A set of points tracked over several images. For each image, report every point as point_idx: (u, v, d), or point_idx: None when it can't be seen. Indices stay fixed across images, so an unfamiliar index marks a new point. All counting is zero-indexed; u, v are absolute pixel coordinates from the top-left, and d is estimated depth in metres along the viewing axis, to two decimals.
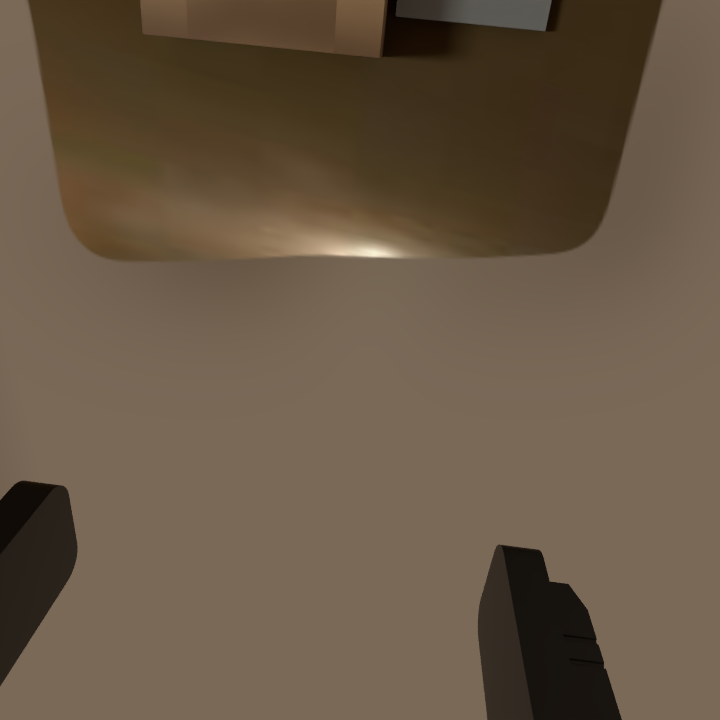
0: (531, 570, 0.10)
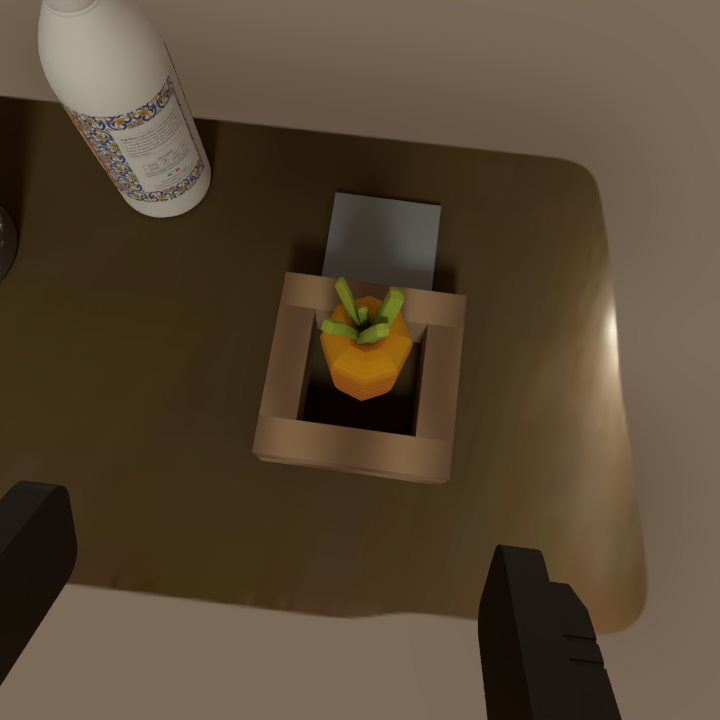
0: (531, 570, 0.10)
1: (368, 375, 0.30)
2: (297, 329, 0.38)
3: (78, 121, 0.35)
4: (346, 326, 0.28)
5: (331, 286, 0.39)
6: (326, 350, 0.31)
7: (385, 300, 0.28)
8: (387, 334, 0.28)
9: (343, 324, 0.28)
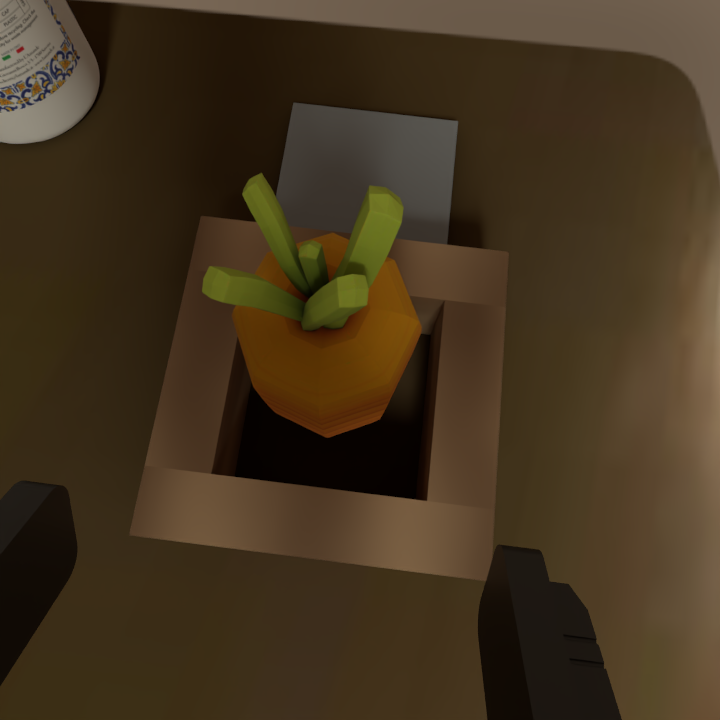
0: (531, 570, 0.10)
1: (328, 397, 0.14)
2: (217, 313, 0.22)
3: None
4: (267, 285, 0.12)
5: None
6: (242, 345, 0.15)
7: (358, 220, 0.12)
8: (364, 302, 0.12)
9: (258, 280, 0.12)
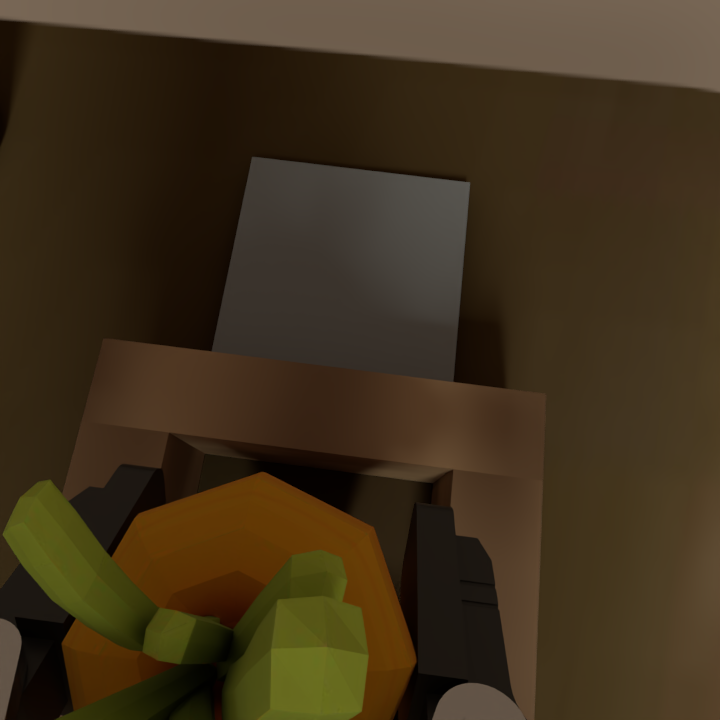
0: (440, 523, 0.11)
1: None
2: None
3: None
4: None
5: (213, 373, 0.16)
6: None
7: (253, 667, 0.05)
8: None
9: None
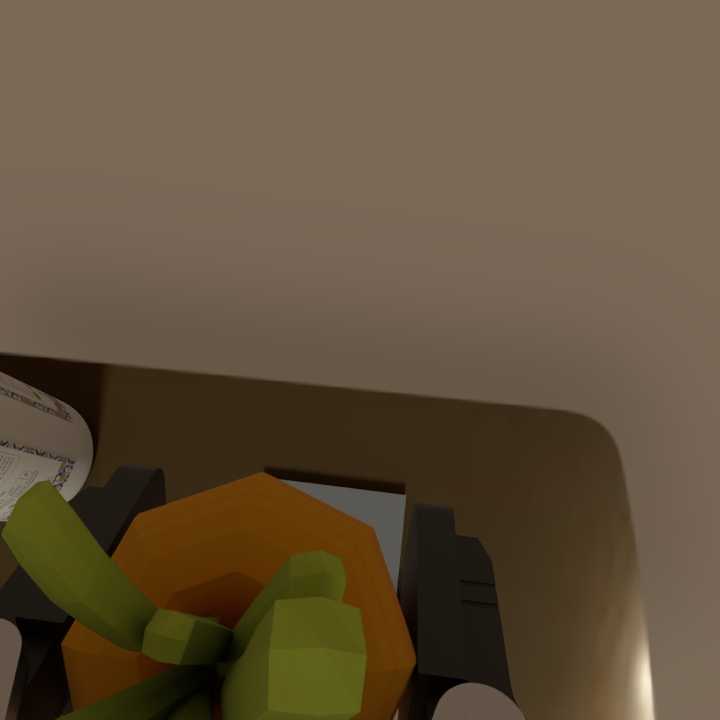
0: (440, 523, 0.11)
1: None
2: None
3: None
4: None
5: None
6: None
7: (252, 668, 0.04)
8: None
9: None
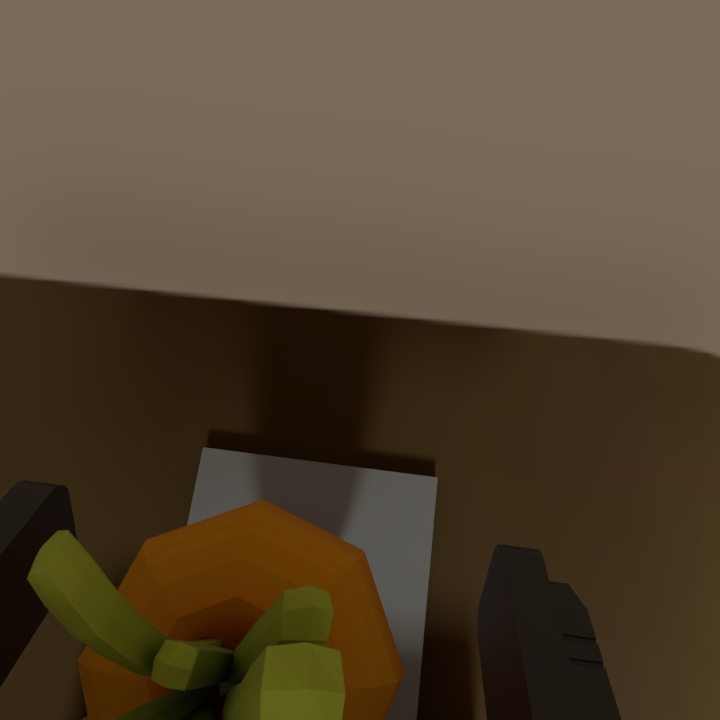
0: (531, 570, 0.10)
1: None
2: None
3: None
4: None
5: None
6: None
7: (247, 702, 0.05)
8: None
9: None
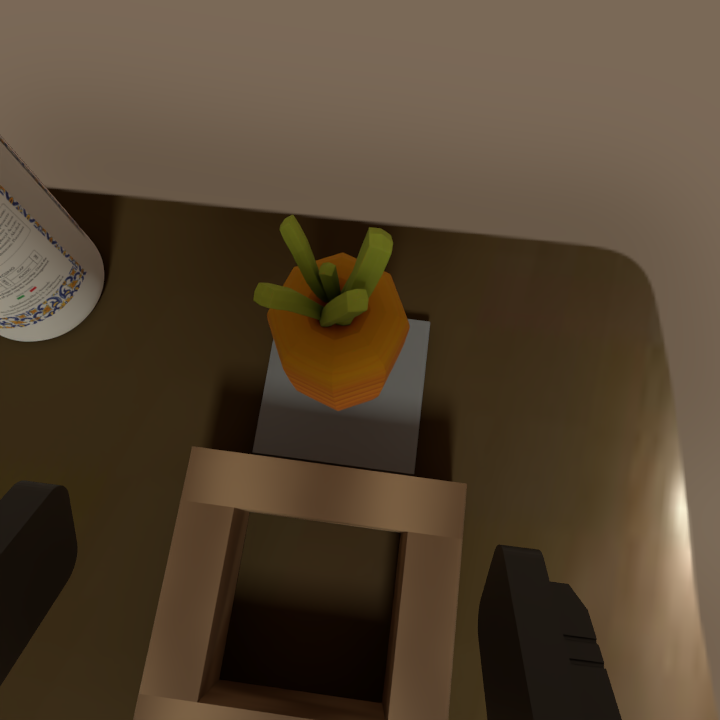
0: (531, 570, 0.10)
1: (339, 376, 0.19)
2: (205, 543, 0.25)
3: None
4: (297, 295, 0.17)
5: (260, 470, 0.26)
6: (275, 337, 0.20)
7: (361, 251, 0.17)
8: (365, 308, 0.17)
9: (292, 292, 0.17)
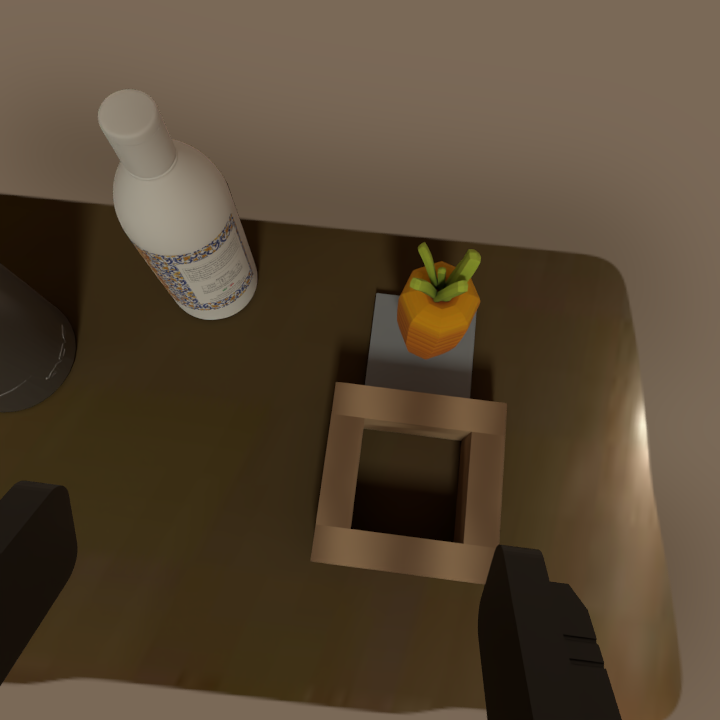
0: (531, 570, 0.10)
1: (444, 329, 0.35)
2: (348, 439, 0.41)
3: (146, 256, 0.37)
4: (429, 284, 0.33)
5: (379, 395, 0.41)
6: (405, 308, 0.36)
7: (463, 261, 0.32)
8: (465, 290, 0.32)
9: (427, 282, 0.33)
